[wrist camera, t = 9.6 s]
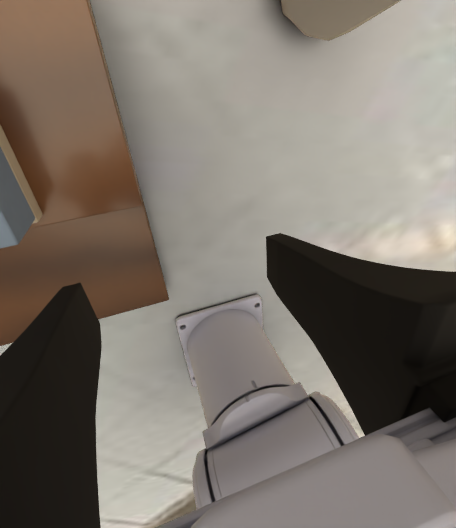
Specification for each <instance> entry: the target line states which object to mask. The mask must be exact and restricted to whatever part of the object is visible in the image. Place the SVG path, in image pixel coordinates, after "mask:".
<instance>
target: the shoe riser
mask: <svg viewBox="0 0 456 528" xmlns="http://www.w3.org/2000/svg"><path fill="white" fill-rule="evenodd" d="M0 125H1V127H2V129H3V131H4V133H5V135H6V137H7V140H8V142H9V144H10V146H11V148H12V150H13V152H14V154H15V157H16V159H17V161H18V163H19V165H20V167H21V169H22V171H23V173H24V176H25V178H26V180H27V182H28V184H29V186H30V188H31V190H32V193H33V195H34V197H35V199H36V201H37V203H38V205H39V207H40V210H41V212H42V214H43V215H42V217H41V218H40V220H39V222H37V223H33V224H31V226H30V227H29V229H28V230H27V232H26V234H25V235H24V237H23V238H22V240H21V241H20V243H19V244H18V245H14V246H9V247H5V248H0V346H2V345H5V344H9V343H13V342H14V341H15V340H16V339H17V338H18V337H19V336H20V335H21V334H22V333H23V332H24V331H25V329H26V328H27V327H28V326H29V325H30V324H31V323H32V322H33V320H34V319H35V318H36V317H37V316H38V315H39V313H40V312H41V311H42V310H43V309H44V308H45V306H46V305H47V304H48V303H49V302H50V300H51V299H52V298H53V297H54V296H55V295H56V293H57V292H58V291H59V290H60V289H61V288H62V287H64V286H69V285H73V284H77V283H81V284H82V286H83V289H84V291H85V293H86V295H87V297H88V299H89V301H90V304H91V306H92V308H93V310H94V312H95V314H96V316H97V318H98V319H101V318H104V317H108V316H112V315H115V314H119V313H123V312H126V311H130V310H134V309H137V308H141V307H145V306H148V305H152V304H156V303H159V302H163V301H167V300H169V297H168V292H167V288H166V285H165V281H164V277H163V273H162V270H161V266H160V262H159V258H158V255H157V251H156V247H155V243H154V240H153V236H152V232H151V228H150V225H149V221H148V217H147V213H146V210H145V206H144V202H143V198H142V195H141V191H140V187H139V183H138V180H137V176H136V172H135V168H134V165H133V161H132V157H131V153H130V150H129V146H128V142H127V138H126V135H125V131H124V127H123V123H122V120H121V116H120V112H119V108H118V105H117V101H116V97H115V93H114V90H113V86H112V82H111V78H110V75H109V71H108V67H107V63H106V60H105V56H104V52H103V48H102V45H101V41H100V37H99V33H98V30H97V26H96V22H95V18H94V15H93V11H92V7H91V3H90V0H0Z"/></svg>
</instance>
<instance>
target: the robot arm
mask: <svg viewBox="0 0 456 528" xmlns="http://www.w3.org/2000/svg"><path fill="white" fill-rule="evenodd" d="M266 249H267V278H268V280H269V281H270V283H271V285H272V287H273V289H274V290H275V292H276V294H277V296H278V297H279V298H280V300H281V301H282V302H283V304H284V305H285V306H286V307H287V309H288V310H289V311H290V313H291V314H292V315H293V316H294V318H295V319H296V320H297V322H298V323H299V324H300V325H301V327H302V328H303V329H304V331H305V332H306V333H307V334H308V336H309V337H310V339H311V340H312V341H313V343H314V345H315V346H316V348H317V349H318V351H319V353H320V354H321V356H322V357H323V359H324V361H325V362H326V364H327V366H328V368H329V369H330V371H331V373H332V374H333V376H334V378H335V380H336V381H337V383H338V385H339V387H340V389H341V390H342V392H343V394H344V396H345V398H346V400H347V401H348V403H349V405H350V407H351V409H352V411H353V413H354V415H355V417H356V419H357V421H358V423H359V425H360V427H361V429H362V430H363V432H364V434H365V436H363V437H361V438H359V437H358V435H357V433H356V432H355V430H354V429H353V427H352V425H351V424H350V422H349V421H348V419H347V418H346V417H345V415H344V414H343V412H342V411H341V410H340V408H339V407H338V406H337V405H336V404H335V403H334V402H333V400H331V399H330V398H329V397H327V396H324V395H321V394H320V393H318V392H313V393H312V394H310V395H307V393H306V392H305V390H304V388H303V387H302V385H301V383H299V382H298V383H296V384H295V383H294V381H293V379H292V378H291V376H290V374H289V373H288V371H287V369H286V368H285V366H284V364H283V363H282V361H281V359H280V358H279V356H278V354H277V353H276V351H275V349H274V348H273V346H272V344H271V343H270V341H269V339H268V338H267V336H266V334H265V333H264V331H263V315H262V299H261V297H260V296H259V295H253V296H249V297H246V298H242V299H239V300H235V301H232V302H228V303H225V304H221V305H218V306H214V307H211V308H207V309H204V310H200V311H197V312H193V313H190V314H186V315H183V316H180V317H178V318H177V319H176V326H177V330H178V334H179V337H180V341H181V345H182V349H183V352H184V356H185V360H186V364H187V367H188V371H189V375H190V379H191V382H192V386H193V387H197V388H198V392H199V396H200V400H201V403H202V407H203V411H204V415H205V419H206V422H207V426H208V429H206V430H204V431H203V432H202V433H203V437H204V441H205V445H206V448H205V449H203V450H201V451H199V452H198V454H197V456H196V462H195V465H194V468H193V475H192V478H193V490H194V496H195V502H196V507H197V510H194V511H192V512H190V513H188V514H185V515H183V516H181V517H178V518H176V519H174V520H172V521H169V522H167V523H165V524H162V525H160V526H158V527H156V528H456V272H446V271H433V270H421V269H412V268H404V267H398V266H391V265H385V264H380V263H374V262H370V261H366V260H361V259H357V258H353V257H349V256H346V255H343V254H339V253H336V252H333V251H330V250H327V249H324V248H321V247H318V246H315V245H313V244H310V243H307V242H304V241H302V240H299V239H296V238H294V237H291V236H288V235H284V234H281V233H279V234H275V235H271V236H267V237H266ZM256 303H258V304H257V305H255V304H256ZM182 325H184V326H183V327H181V326H182ZM100 358H101V331H100V323H99V321H98V318H97V316H96V314H95V312H94V310H93V308H92V306H91V304H90V301H89V299H88V297H87V295H86V293H85V291H84V289H83V286H82V284H81V283H77V284H73V285H69V286H64V287H62V288H61V289H60V290H59V291H58V292H57V293H56V295H55V296H54V297H53V298H52V299H51V300H50V302H49V303H48V304H47V305H46V306H45V308H44V309H43V310H42V311H41V312H40V313H39V315H38V316H37V317H36V318H35V319H34V320H33V322H32V323H31V324H30V325H29V326H28V327H27V328H26V329H25V331H24V332H23V333H22V334H21V335H20V336H19V337H18V338H17V339H16V340H15V341H14V342H13V343H12V344H11V345H10V346H9V348H8V349H7V350H6V351H5V352H4V353H3V354H2V355H1V356H0V528H100V516H99V501H98V484H97V462H96V422H95V416H96V400H97V390H98V379H99V369H100Z"/></svg>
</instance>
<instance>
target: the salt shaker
mask: <svg viewBox="0 0 456 528" xmlns="http://www.w3.org/2000/svg"><path fill="white" fill-rule="evenodd" d="M399 1H401V0H281V5H282V11H283V14H284V15H285V16H286V17H288V18H289V19H290V20H291V21H292V22H293V23H294V24H295V25H296V26H297V27H298V28H299V30H300V31H301V32H302V33H303V34H304V35H306V36H310V37H314V38H318V39H322V40H332V39H334V38H336V37H339V36H341V35H344V34H346V33H349V32H351V31H352V30H354V29H356V28H357V27H359V26H360V25H362V24H364V23H365V22H367V21H369V20H370V19H372V18H373V17H375V16H377V15H378V14H380V13H382V12H383V11H385V10H386V9H388V8H390V7H391V6H393V5H395V4H396V3H398V2H399Z"/></svg>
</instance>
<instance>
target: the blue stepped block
mask: <svg viewBox="0 0 456 528" xmlns="http://www.w3.org/2000/svg"><path fill="white" fill-rule="evenodd" d="M42 215H43V214H42V212H41V210H40V207H39V205H38V203H37V201H36V199H35V197H34V195H33V193H32V190H31V188H30V186H29V184H28V182H27V180H26V178H25V176H24V173H23V171H22V169H21V167H20V165H19V163H18V161H17V159H16V157H15V154H14V152H13V150H12V148H11V146H10V144H9V142H8V140H7V137H6V135H5V133H4V131H3V129H2V127H1V125H0V248H5V247H9V246H14V245H18V244H19V243H20V241H21V240H22V238H23V237H24V235H25V234H26V232H27V230H28V229H29V227H30V226H31V224H33V223H37V222H39V220H40V218H41V217H42Z"/></svg>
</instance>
